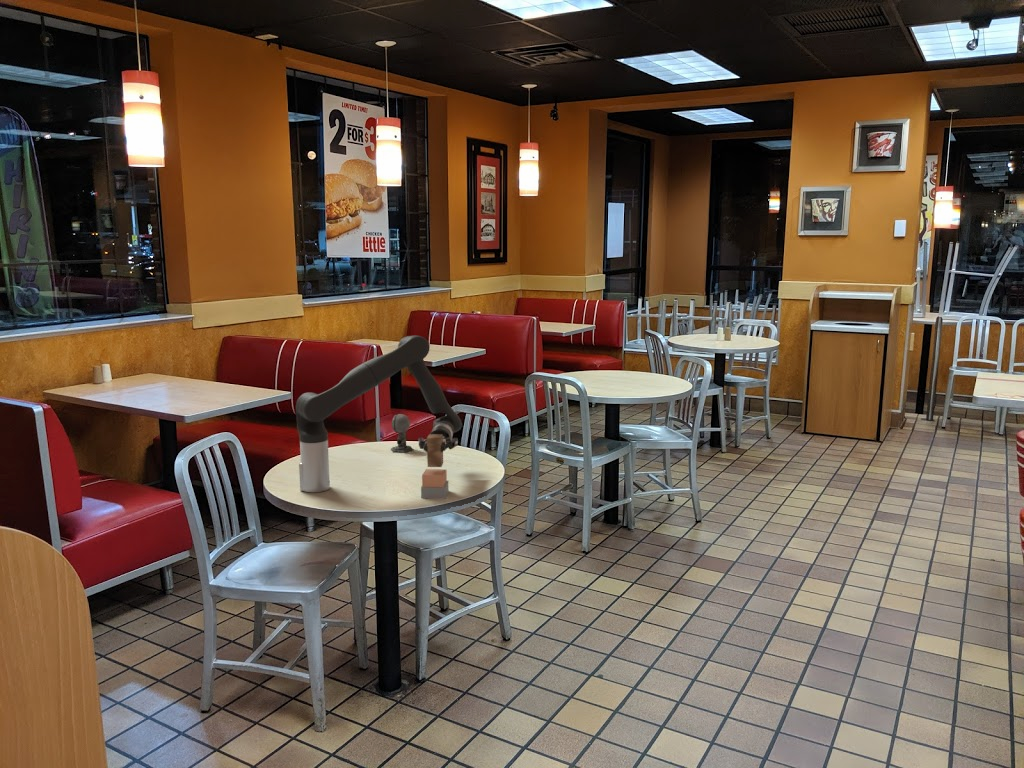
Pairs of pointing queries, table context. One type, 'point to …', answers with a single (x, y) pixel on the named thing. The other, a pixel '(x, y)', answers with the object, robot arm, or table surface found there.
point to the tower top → (434, 478)
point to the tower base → (434, 491)
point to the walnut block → (434, 450)
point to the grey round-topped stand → (401, 433)
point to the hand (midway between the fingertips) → (434, 449)
